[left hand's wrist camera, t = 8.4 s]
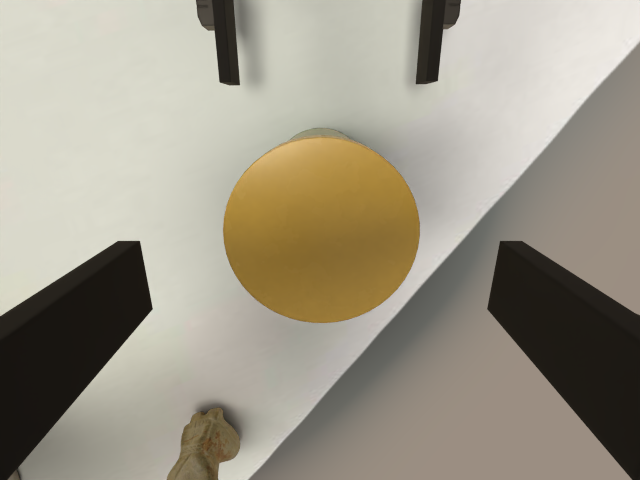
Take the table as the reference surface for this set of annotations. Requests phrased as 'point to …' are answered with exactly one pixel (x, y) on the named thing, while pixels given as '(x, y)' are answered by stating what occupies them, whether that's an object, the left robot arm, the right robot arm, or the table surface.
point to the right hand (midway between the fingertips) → (328, 84)
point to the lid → (321, 229)
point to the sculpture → (205, 447)
